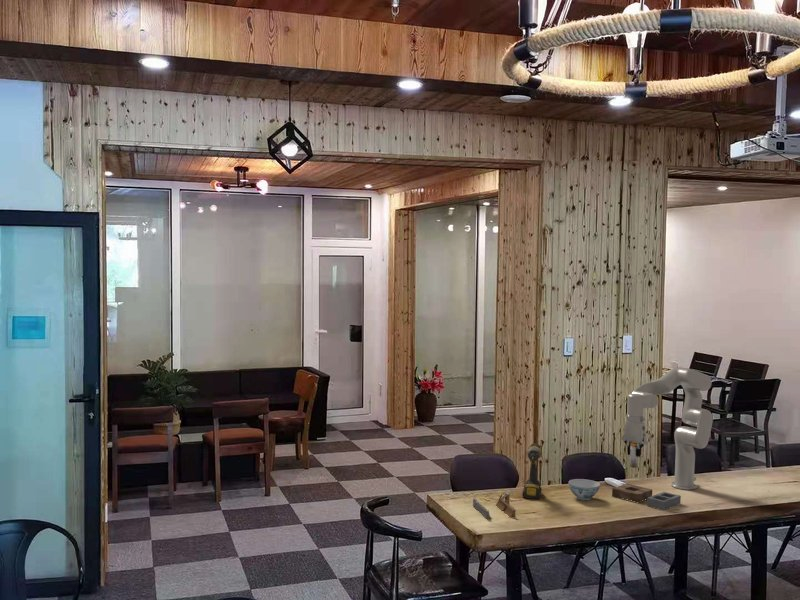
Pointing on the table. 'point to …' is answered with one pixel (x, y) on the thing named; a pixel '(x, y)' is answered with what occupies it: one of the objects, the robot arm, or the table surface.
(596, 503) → the table surface
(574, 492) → the chinaware
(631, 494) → the socket block
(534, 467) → the power drill
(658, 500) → the gray cinder block
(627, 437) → the robot arm
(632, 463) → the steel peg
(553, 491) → the table surface
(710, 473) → the table surface
